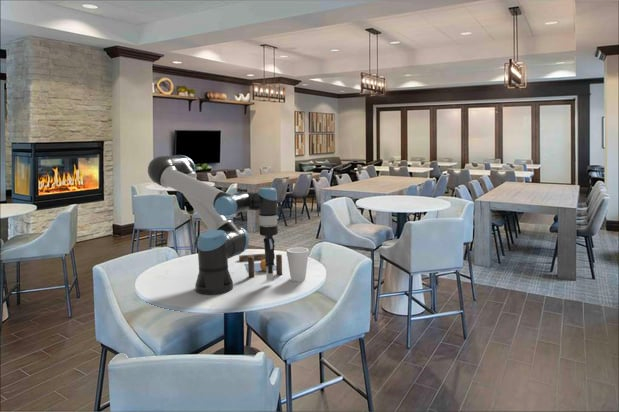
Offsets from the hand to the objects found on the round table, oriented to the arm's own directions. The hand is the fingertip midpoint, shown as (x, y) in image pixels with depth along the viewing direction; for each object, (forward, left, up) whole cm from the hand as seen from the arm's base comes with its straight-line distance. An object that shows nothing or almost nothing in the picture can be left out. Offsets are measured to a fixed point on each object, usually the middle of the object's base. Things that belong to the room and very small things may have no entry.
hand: (270, 280), depth 189 cm
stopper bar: (0, +42, -2) cm, 42 cm away
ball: (+1, +21, +1) cm, 21 cm away
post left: (-6, +13, -2) cm, 15 cm away
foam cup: (+13, +4, -2) cm, 14 cm away
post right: (+6, +13, -2) cm, 15 cm away
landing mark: (0, +27, -2) cm, 27 cm away
